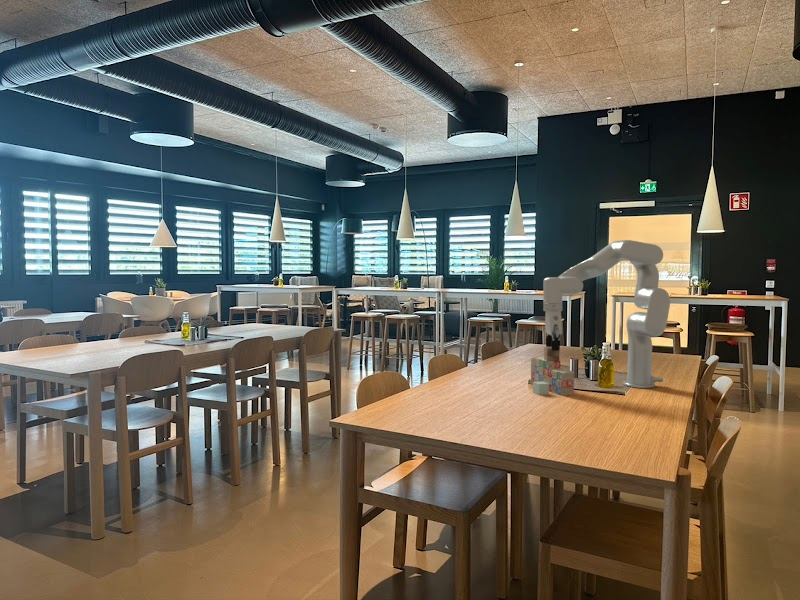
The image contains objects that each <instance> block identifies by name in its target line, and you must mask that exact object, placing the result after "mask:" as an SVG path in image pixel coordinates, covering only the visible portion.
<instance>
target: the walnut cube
mask: <svg viewBox="0 0 800 600" xmlns="http://www.w3.org/2000/svg"><path fill="white" fill-rule="evenodd" d="M560 351H561V349H560V350H552V347H544V350H543V353H544V355H543V357H544V359H545V360H546V361H560Z"/></svg>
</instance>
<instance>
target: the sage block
mask: <svg viewBox="0 0 800 600" xmlns="http://www.w3.org/2000/svg"><path fill="white" fill-rule="evenodd" d="M549 392H550V391H549V383H546V382H543V381H541V382H533V386H532V393H533V394H535V395H537V396H547V395H550V393H549Z"/></svg>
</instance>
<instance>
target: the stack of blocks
mask: <svg viewBox="0 0 800 600" xmlns="http://www.w3.org/2000/svg"><path fill="white" fill-rule="evenodd" d="M541 381H543V382H546V383H549V392H550V393H553V394H556V395H559V396H568V395H569V396H570V395H574V390H575V388H574V386H575V385H574V384H575V371H572V370H569V369H565V368H561V360H559V361H546V360H545V359H544V356H537V357H536V356H535V357H531V358H530V386H532V387H533V382H541Z"/></svg>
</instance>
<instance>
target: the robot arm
mask: <svg viewBox="0 0 800 600" xmlns="http://www.w3.org/2000/svg"><path fill="white" fill-rule="evenodd" d="M663 259H664V252H663V249H662V248H661V247H660V246H659V245H656V244H653V243H647V242H643V241H637V240H631V239H623V240H615V241H612V242H611V243H609V244H608V245H606V246H605V247H603V248H602V249H601V250H599V251H598V252H596V253H595V254H594V255H592V256H591V257H589V258H588V259H585V260H584V261H582V262H579V263H577V264H576V265H574V266H572V267H570V268H569V269H567V270H565V271H564V272H563V273H561V274H560V275H558V276H556V277H555V276H553V277H552V276H550V277H545V278H544V279H543V287H542V288H543V292H542V293H543V299H542V301H543V303H542V304H543V307H542V308H543V312H545V317H544V319H545V320H544V321H545V322H544V323H545V329H544V330H545V346H546V347H552V350H560V351H561V345H560V344H561V341H560V340H561V338H560V337H561V336H562V334H563V324H562V312H563V295H571V296H572V295H573V296H575V295H578V294H580V293H581V292H582V291H583V289H584V283H583V281H585V280H586V281H587V280H588V279H592V278H593V279H594V278H596V277H599V276H602V275H604V274H605V273H606V272H608V271H609V270H610V269H612V268H613V267H614V266H617V264H619V263H620V262H622V261H623V262H626V261H629V262H630V263H631V264H632V265H633V267H634V269H635V270H636V274H637V276H636V285H635V291H634V297H633V303H634V305H635V306H636V307H637V308H639V309H642V310H646V312H645V311H644V312H643V311H635V312H633V313H631V314H630V315H629V316H628V317H627V318H626V319H627V320H626V332H627V367H626V368H627V369H626V371H627V373H626V374H627V375H626V379H624V380H623V382H622V384H623V386H626V387H630V388H639V389H652V388H655V386H656V384H655V383H656V382H658V383H663V382H664V377H660V376H659V377H658V376H654V375H652V364H653V363H652V361H653V341H652V338H655V337H656V338H657V337H659V336H662V335H663V334H664V332H665V330H666V328H667V325H668V318H669V313H670V307H671V297H670V294H669V292H668V291H667V290H665V288H662V287H659V281H660V272H659V269H658V266H657V265H659V264H660V263H661V262H662V261H663Z"/></svg>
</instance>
